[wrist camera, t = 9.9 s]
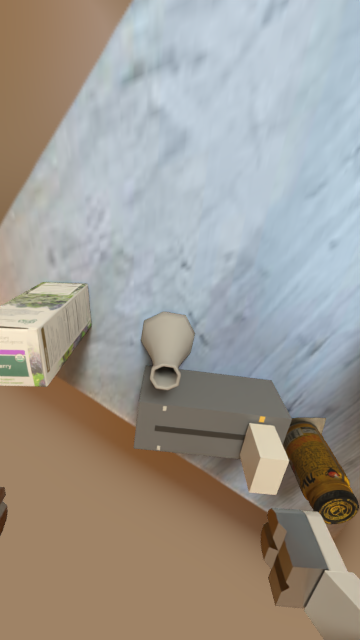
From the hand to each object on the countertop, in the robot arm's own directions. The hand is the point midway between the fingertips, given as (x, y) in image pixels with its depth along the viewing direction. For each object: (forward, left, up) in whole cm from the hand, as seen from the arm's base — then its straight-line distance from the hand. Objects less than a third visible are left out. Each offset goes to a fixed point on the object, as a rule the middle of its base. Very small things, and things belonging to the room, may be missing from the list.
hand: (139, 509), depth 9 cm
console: (+1, +18, -29) cm, 34 cm away
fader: (-3, +21, -21) cm, 30 cm away
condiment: (-9, +30, -30) cm, 43 cm away
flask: (+3, +7, -30) cm, 31 cm away
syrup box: (+13, -2, -30) cm, 32 cm away
